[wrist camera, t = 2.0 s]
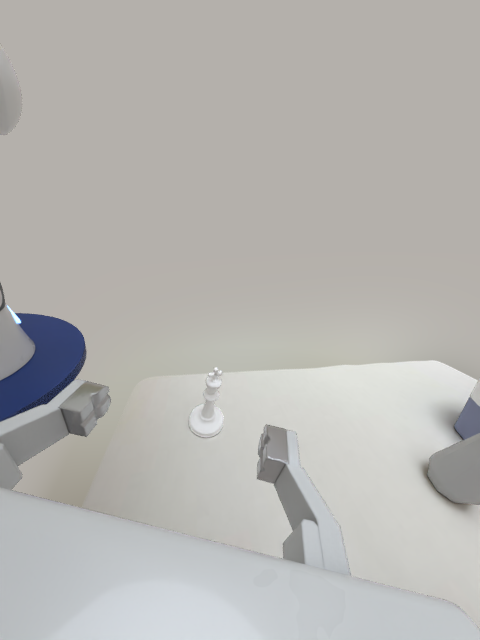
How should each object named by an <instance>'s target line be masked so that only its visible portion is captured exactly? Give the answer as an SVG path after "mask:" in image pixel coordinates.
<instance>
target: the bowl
mask: <svg viewBox="0 0 480 640" xmlns="http://www.w3.org/2000/svg"><path fill="white" fill-rule="evenodd" d="M454 427H455V429H456V430H457V432H458V433H459V434H460V435H461V437H462V438H463V439H464V440H465V439H468V438H470V437H472V436H474V435H476V434H479V433H480V379H479V380H478V382H477V384H476V386H475V387H474V389H473V391H472V393H471V395H470V397H469V399H468V401H467V403H466V405H465V407H464V409H463V410H462V412H461V414H460V416H459V418H458V420H457V422H456V423H455V425H454Z"/></svg>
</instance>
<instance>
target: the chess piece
mask: <svg viewBox="0 0 480 640" xmlns="http://www.w3.org/2000/svg"><path fill="white" fill-rule="evenodd" d="M221 375H222V371H221V370H220V371H218V368H214V370H213V372H211V373H208V377H207V378H206V385H207V388H206V389H205V390H204V392H203V396H204V398H205V399H206V402H205V403H204V404H200V405H198V406H196V407H195V408H194V409H193V410H192V412H191V414H190V417H189V426H190V429H191V430H192V432H193V433H195V434H196V435H198V436H200V437H212V436H214V435H216V434H218V433H219V432H220V430H221V429H222V427H223V423H224V417H223V413H222V411H221V410H220V409H219V408H218V407H217V406H215V405H214V401H216V400H217V399H218V398H219V396H220V394H219V391H218V388H219V387H220V386H221V384H222V380H221V378H220V377H219V376H221Z"/></svg>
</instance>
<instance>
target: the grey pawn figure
mask: <svg viewBox="0 0 480 640" xmlns="http://www.w3.org/2000/svg"><path fill="white" fill-rule="evenodd" d="M427 476H428V477H429V479H430V480H431V482H432V484H433V485H434V487H435V488H436V490H437V491H438V492H440V493H441V494H442V495H444V496H445V497H447V498H448V499H449V500H451V501H452V502H454V503H466V504H475V505H480V433H479V434H476V435H474V436H472V437H470V438H468V439H465V440H463V441H461V442H459V443H456V444H454V445H452V446H450V447H448V448H445V449H443V450H441V451H439V452H437V453H435V454H433V455H432V456H431V457H430V460H429V469H428V474H427Z"/></svg>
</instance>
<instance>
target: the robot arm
mask: <svg viewBox="0 0 480 640" xmlns="http://www.w3.org/2000/svg"><path fill="white" fill-rule="evenodd" d="M21 111H22V94H21V89H20V85H19V82H18V78H17V76H16V73H15V70H14V68H13V66H12V64H11V62H10V59H9V57H8V56H7V54H6V52H5V50H4V49H3V47H2V45H1V44H0V135H7V134H8V133H10V132H11V131H12V130H13V129H14V128H15V127H16V125H17V123H18V122H19V118H20V116H21ZM18 323H21V321H20V319H19V318H18V317H17V316H16V315H15V314H14V313H13V311H12V310H11V309H10V308H9V307H8V306H7V305H6V303H5V299H4V294H3V289H2V286H1V283H0V380H2V379H4V378H6V377H8V376H10V375H11V374H13V373H14V372H16V371H17V370H19V369H20V368H21V367H23V366H24V365H25V364H26V363H27V362H28V361H29V360H30V359H31V358H32V356H33V354H34V352H35V344H34V342H33V341H32V340H31V339H30V338H29V337H28V335H27V334H26V333H25V332H24V331H23V329H22V328H21V327H20V325H19V324H18ZM108 392H109V387H107V386H104V385H100V384H96V383H92V382H89V381H85V380H81V379H77V380H74V381H73V382H72V383H71V384H69V385H68V386H67V387H66V388H65V389H64V390H63V391H61V392H60V393H59V394H58V395H57V396H56V397H55V398H53V399H52V400H51V401H50V402H49V403H48V404H47V405H44V404H43V405H40V406H38V407H35V408H33V409H30V410H28V411H26V412H23V413H21V414H18V415H16V416H13V417H11V418H9V419H6V420H4V421H1V422H0V640H480V629H479V628H478V626H477V625H476V624H475V623H474V622H473V621H472V619H471V618H470V617H469V616H468V615H467V614H466V613H465V612H464V611H463V610H462V609H461V608H460V607H459V606H457V605H456V604H454V603H452V602H450V601H447V600H444V599H440V598H436V597H432V596H428V595H424V594H420V593H416V592H413V591H409V590H405V589H401V588H397V587H393V586H389V585H385V584H381V583H377V582H373V581H369V580H365V579H361V578H357V577H353V576H351V573H350V568H349V564H348V559H347V555H346V550H345V546H344V541H343V536H342V532H341V527H340V526H339V524H338V522H337V521H336V519H335V518H334V516H333V514H332V513H331V511H330V509H329V508H328V506H327V505H326V503H325V501H324V500H323V498H322V497H321V495H320V493H319V492H318V490H317V489H316V487H315V485H314V484H313V482H312V480H311V479H310V477H309V476H308V474H307V472H306V471H305V469H304V468H301V465H300V457H299V448H298V440H297V434H296V432H295V431H291V430H286V429H284V428H279V427H275V426H270V425H265V427H264V433H263V434H261V437H260V440H259V446H258V455H259V457H260V459H259V461H258V464H257V479H259V480H262V481H266V482H269V483H273V484H274V486H275V489H276V491H277V493H278V496H279V498H280V501H281V503H282V505H283V508H284V510H285V513H286V515H287V517H288V520H289V522H290V525H291V527H292V529H293V532H292V533H291V534H290V536H289V537H288V538H287V539H286V540H285V541H284V543H283V559H282V558H278V557H274V556H270V555H266V554H262V553H258V552H254V551H250V550H246V549H242V548H239V547H235V546H231V545H227V544H223V543H219V542H215V541H211V540H207V539H203V538H199V537H195V536H191V535H187V534H183V533H179V532H175V531H171V530H167V529H163V528H159V527H155V526H152V525H148V524H144V523H140V522H136V521H132V520H128V519H124V518H120V517H116V516H112V515H108V514H104V513H100V512H96V511H92V510H88V509H84V508H80V507H76V506H72V505H68V504H65V503H61V502H56V501H52V500H49V499H45V498H41V497H37V496H33V495H28V494H25V493H21V492H17V491H13V490H12V489H13V487H14V486H15V485H16V484H17V483H18V482H19V481H20V480H21V479H22V473H21V471H20V470H19V468H18V466H19V465H20V464H22V463H23V462H25V461H27V460H28V459H30V458H31V457H33V456H35V455H36V454H38V453H40V452H41V451H43V450H44V449H46V448H48V447H49V446H51V445H52V444H54V443H56V442H57V441H59V440H60V439H62V438H64V437H65V436H67V435H68V434H69V433H71V434H75V435H80V436H85V437H87V436H88V435H89V433H90V432H91V431H92V429H93V428H94V427H95V426H96V425H97V419H98V418H101V417H102V416H104V414H105V413H106V412H107V410H108V408H109V406H110V402H111V399H110V396H109V395H108V394H107V393H108Z"/></svg>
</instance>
